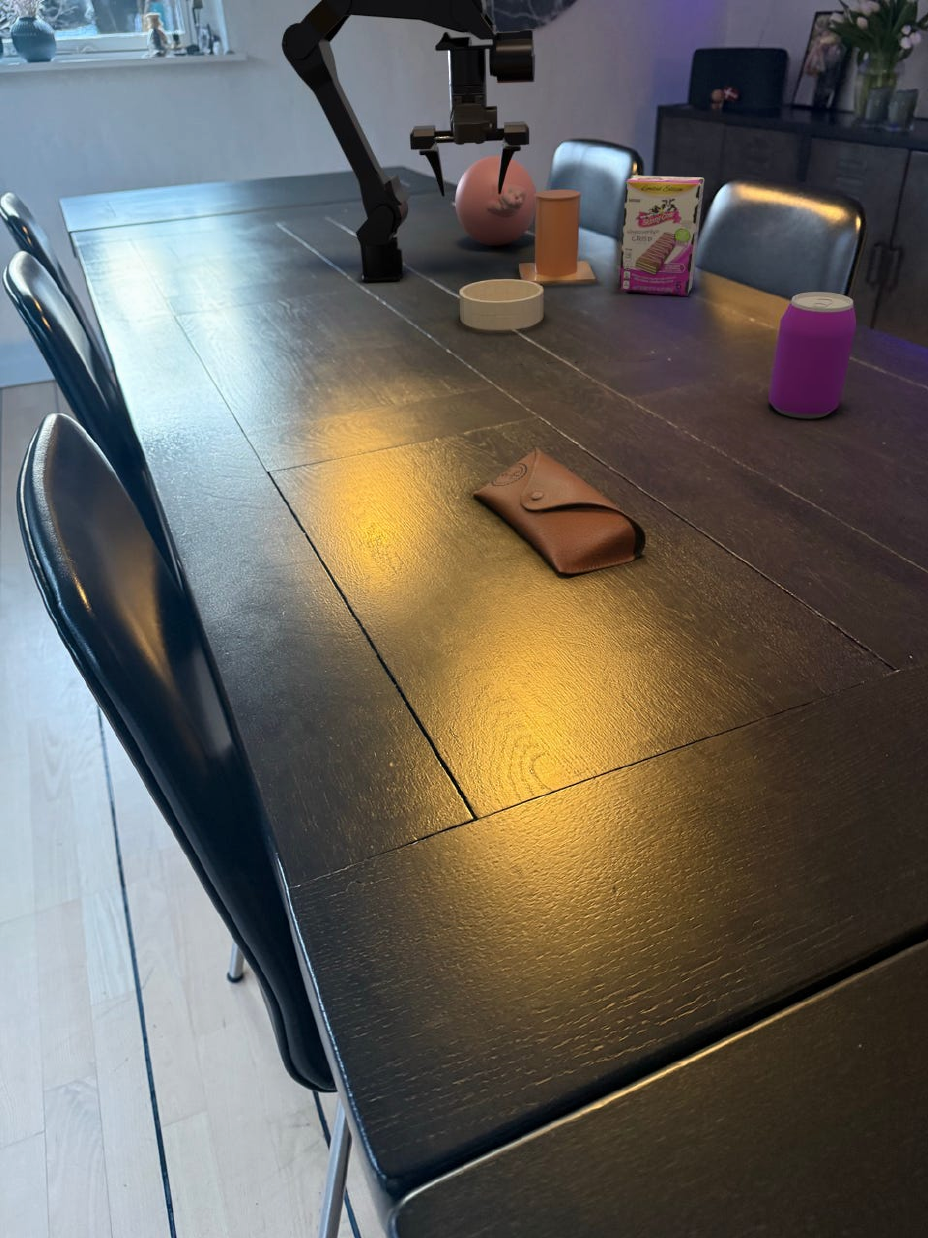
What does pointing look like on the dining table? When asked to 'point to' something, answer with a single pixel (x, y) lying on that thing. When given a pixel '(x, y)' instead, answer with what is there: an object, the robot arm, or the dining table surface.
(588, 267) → the plate
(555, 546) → the sunglasses case
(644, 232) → the candy bar box
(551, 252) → the orange lidded canister
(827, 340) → the beverage can
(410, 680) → the dining table surface
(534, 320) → the cream round container
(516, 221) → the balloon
